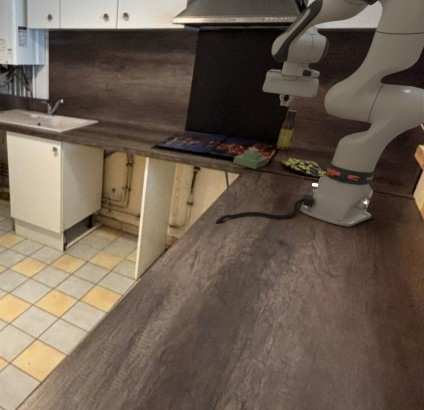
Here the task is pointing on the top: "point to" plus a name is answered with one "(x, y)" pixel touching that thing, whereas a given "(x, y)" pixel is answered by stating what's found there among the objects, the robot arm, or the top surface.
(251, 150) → the pump
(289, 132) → the sauce bottle
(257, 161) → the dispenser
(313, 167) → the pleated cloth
